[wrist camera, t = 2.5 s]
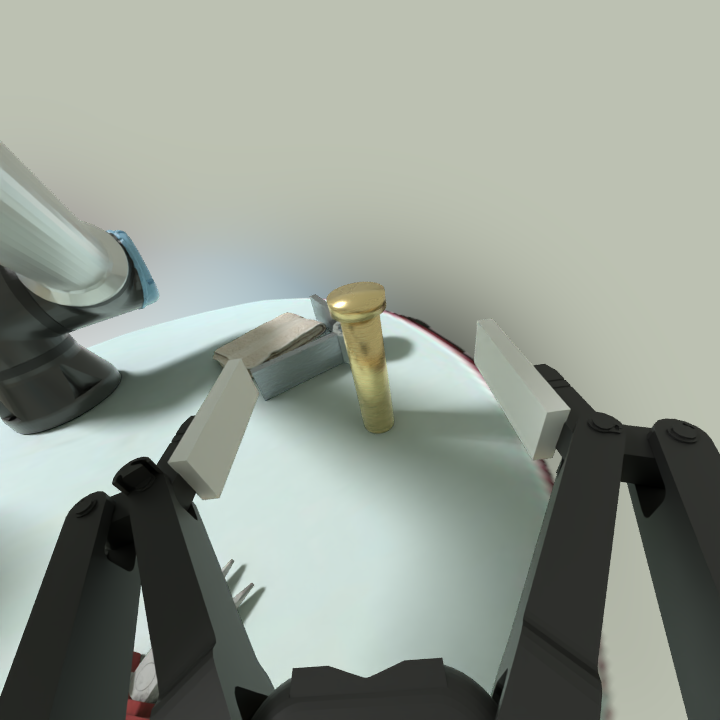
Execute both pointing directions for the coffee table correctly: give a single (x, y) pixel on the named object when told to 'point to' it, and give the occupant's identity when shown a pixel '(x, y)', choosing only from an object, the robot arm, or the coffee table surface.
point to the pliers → (144, 674)
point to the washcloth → (270, 340)
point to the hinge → (303, 357)
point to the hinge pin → (365, 349)
